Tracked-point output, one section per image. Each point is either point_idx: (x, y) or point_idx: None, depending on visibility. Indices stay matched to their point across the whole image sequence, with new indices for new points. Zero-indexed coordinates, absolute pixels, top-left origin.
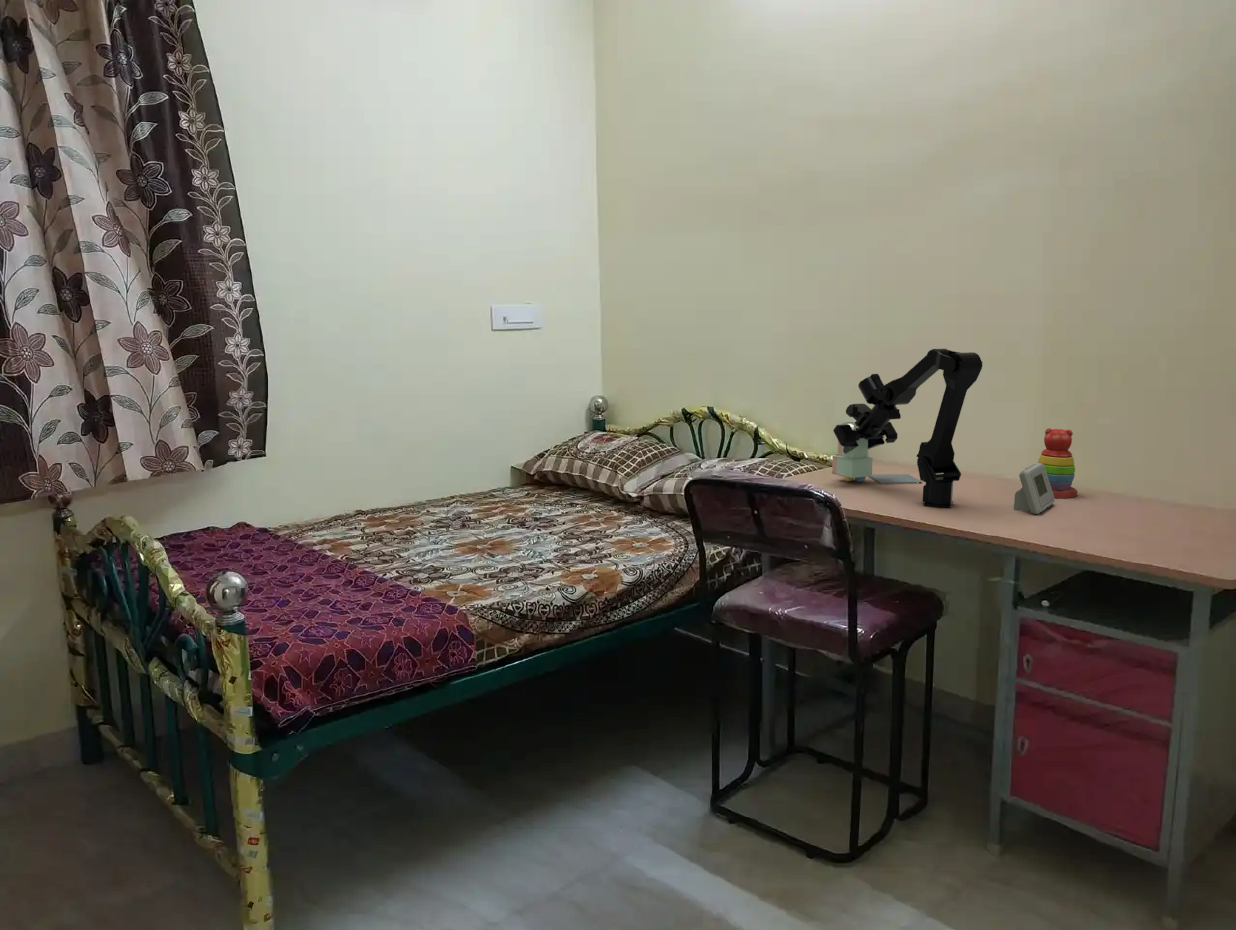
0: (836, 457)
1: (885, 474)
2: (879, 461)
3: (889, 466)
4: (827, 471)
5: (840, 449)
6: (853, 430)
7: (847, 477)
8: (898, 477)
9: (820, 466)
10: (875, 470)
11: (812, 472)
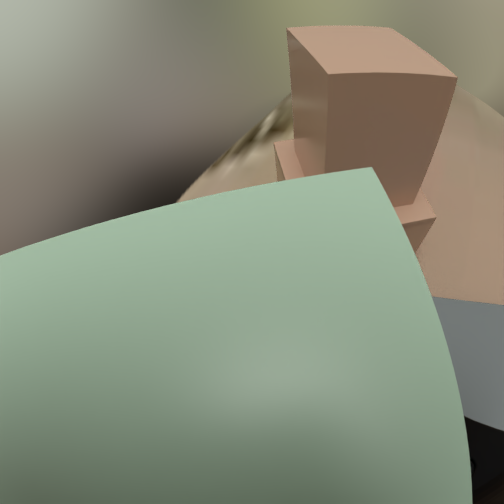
0: (280, 165)
1: (477, 305)
2: (469, 105)
3: (495, 155)
4: (275, 172)
5: (299, 133)
6: (235, 195)
7: None
8: (502, 382)
9: (292, 109)
10: (458, 192)
11: (209, 180)
